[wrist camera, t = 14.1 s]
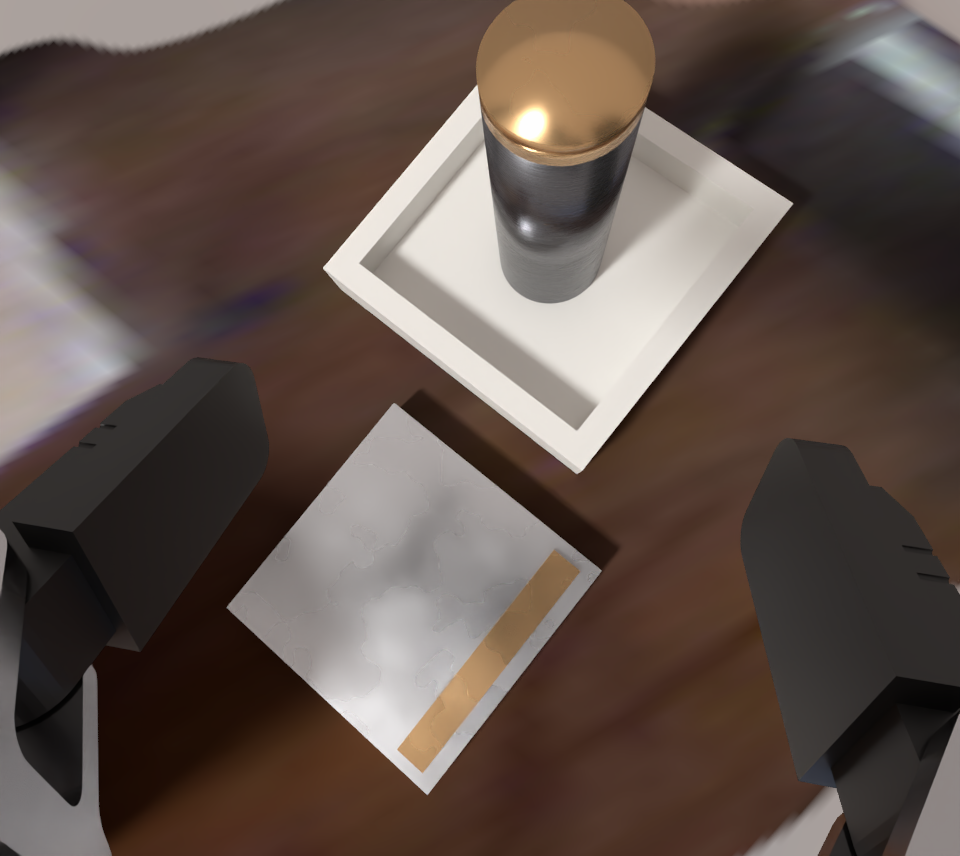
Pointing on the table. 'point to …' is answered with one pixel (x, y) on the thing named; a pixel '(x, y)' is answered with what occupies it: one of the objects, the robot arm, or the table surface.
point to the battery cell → (560, 134)
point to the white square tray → (566, 325)
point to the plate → (413, 595)
